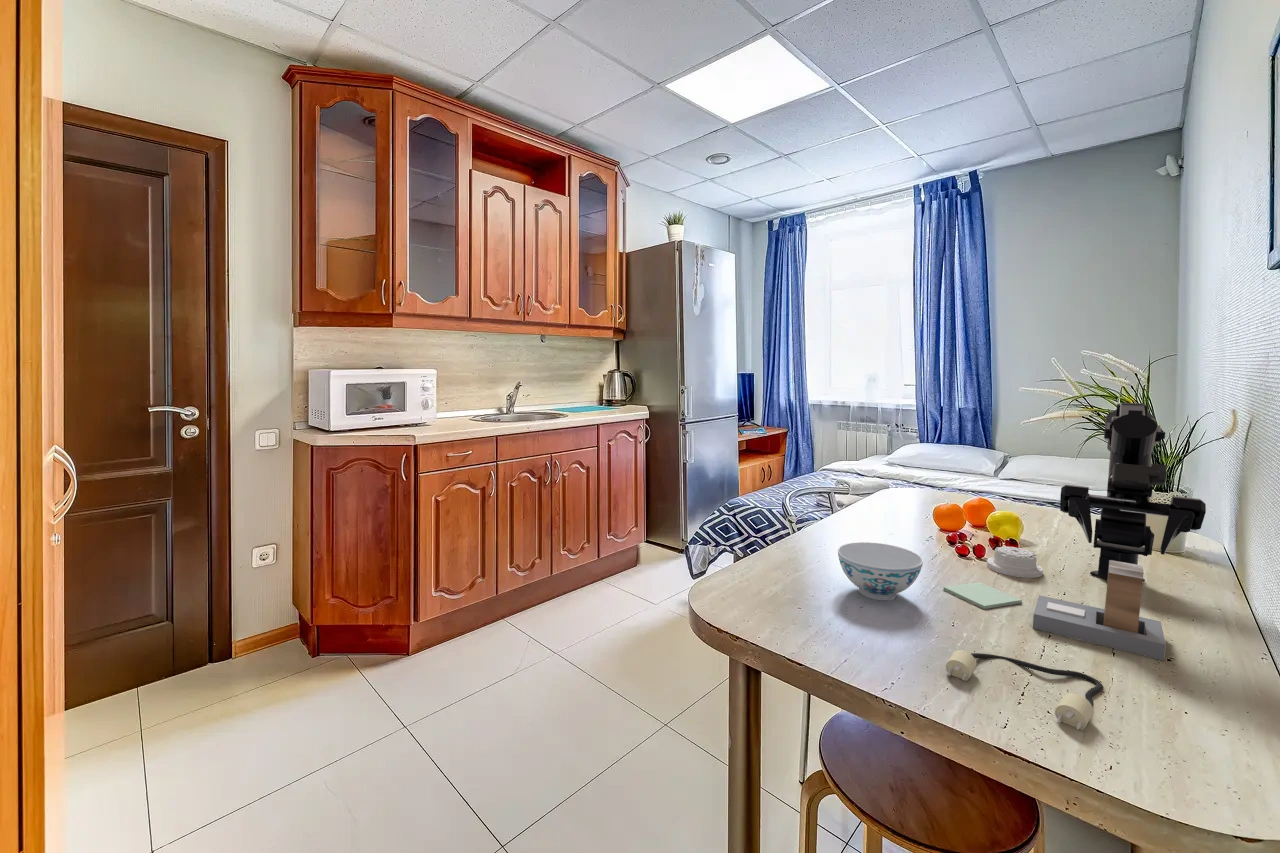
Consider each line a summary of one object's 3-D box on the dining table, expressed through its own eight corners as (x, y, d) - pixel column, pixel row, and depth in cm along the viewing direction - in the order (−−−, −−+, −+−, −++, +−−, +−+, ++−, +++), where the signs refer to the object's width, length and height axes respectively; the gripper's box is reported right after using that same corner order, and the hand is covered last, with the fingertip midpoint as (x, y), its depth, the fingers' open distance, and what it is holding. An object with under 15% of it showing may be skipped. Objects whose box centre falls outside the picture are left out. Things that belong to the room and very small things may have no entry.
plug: (1102, 629, 91) (1109, 559, 90) (1135, 637, 89) (1142, 565, 87) (1102, 638, 88) (1109, 566, 87) (1136, 646, 86) (1143, 572, 84)
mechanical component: (998, 577, 115) (1052, 581, 113) (1000, 557, 114) (1053, 560, 112) (979, 561, 124) (1028, 564, 122) (980, 542, 124) (1029, 545, 122)
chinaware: (931, 592, 106) (933, 554, 105) (905, 617, 95) (907, 575, 95) (854, 572, 116) (855, 537, 116) (823, 593, 106) (824, 554, 105)
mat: (979, 584, 110) (979, 581, 110) (1021, 603, 101) (1021, 599, 101) (943, 589, 107) (943, 587, 107) (984, 609, 99) (984, 605, 99)
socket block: (1038, 608, 99) (1039, 593, 99) (1159, 636, 89) (1160, 619, 89) (1032, 628, 92) (1033, 611, 91) (1164, 660, 81) (1166, 642, 81)
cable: (982, 644, 87) (984, 623, 87) (1115, 692, 74) (1118, 668, 74) (938, 678, 78) (940, 655, 77) (1082, 739, 65) (1085, 712, 64)
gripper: (1065, 441, 101) (1056, 511, 93) (1210, 451, 89) (1213, 532, 81) (1064, 477, 107) (1056, 545, 100) (1199, 490, 95) (1200, 569, 88)
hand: (1125, 547), depth 92 cm, fingers open, 9 cm apart
